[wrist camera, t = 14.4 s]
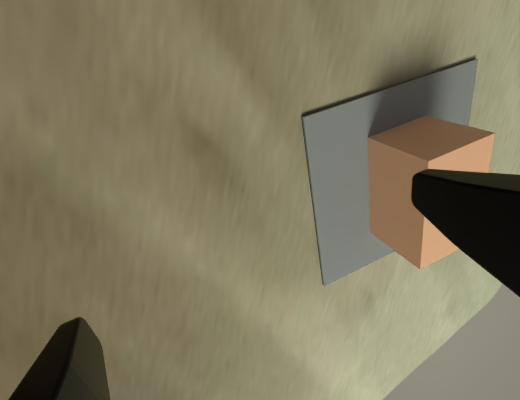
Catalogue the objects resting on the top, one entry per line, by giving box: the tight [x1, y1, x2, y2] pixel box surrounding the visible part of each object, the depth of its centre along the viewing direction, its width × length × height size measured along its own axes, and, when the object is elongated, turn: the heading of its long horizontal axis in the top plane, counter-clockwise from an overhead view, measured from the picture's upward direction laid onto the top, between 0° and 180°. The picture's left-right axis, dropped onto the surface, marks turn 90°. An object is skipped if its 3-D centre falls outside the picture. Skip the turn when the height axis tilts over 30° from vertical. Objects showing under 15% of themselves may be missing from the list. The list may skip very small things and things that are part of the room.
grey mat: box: [302, 59, 478, 286], centre depth 25 cm, size 14×14×1 cm
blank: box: [368, 116, 495, 269], centre depth 23 cm, size 5×8×5 cm, turn 12°
